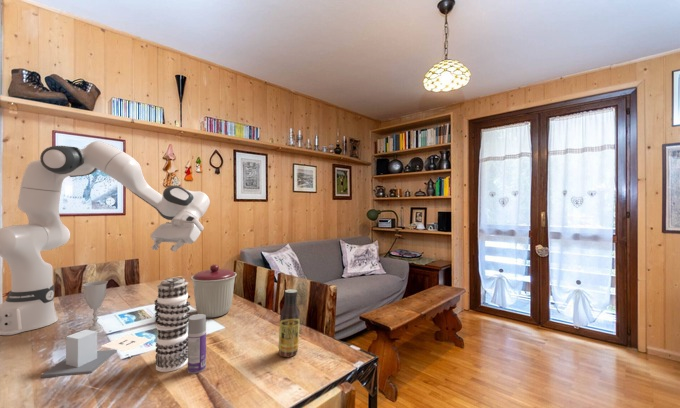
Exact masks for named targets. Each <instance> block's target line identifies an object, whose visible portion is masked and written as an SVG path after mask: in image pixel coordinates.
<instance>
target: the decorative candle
mask: <svg viewBox="0 0 680 408" xmlns="http://www.w3.org/2000/svg"><path fill="white" fill-rule="evenodd" d="M188 285H189V281H186V279H185V278H184V277H178V276H177V277H170V278H169V277H168V278H165V279H163V280H161V282H160V283H159V284H158V285H156V288H157V298H156V299H155V300H154V310H155V313H154V316H155V317H154V318H155V320H154V322H155V323H156V324H155V328H156V329H157V337H156V343H155V347H156V348H155V353H156V354H155V362H154V363H155V370H156V371H157V372H161V373H167V372H168V373H169V372H174V371H177V370H179V369H181V368H183V367H185V366H186V365H188V322H189V317H190V314H189V313H188V312H189V311H190V310H191V308H190V307H189V306H190V305H191V303H190V301H187V300H189V299H190V298H191V295H189V293H188V292H189V291H188Z"/></svg>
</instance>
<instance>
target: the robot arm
mask: <svg viewBox="0 0 680 408" xmlns="http://www.w3.org/2000/svg"><path fill="white" fill-rule="evenodd" d="M141 166H142V165H141V164H140V163H139V162H138V161H137V160H136V159H135V158H134V157H133V156H131V155H130V154H128V153H126V152H124V151H123V150H122V149H120V148H118V147H115V146H113V145H112V144H109V143H106V142H104V141H101V140H100V141H99V140H97V141H93V142H90V143H89V144H87V145H86V147H84V148H82V149H81V148H79V147H77V146H68V145H53V146H49V147H47V148H44V149H43V150H42V152H41V154H40V157H39V160H32V161H31V162H29V163H28V164H27V167H26V169H25V170H24V173H23V176H22V179H21V183H20V188H19V194H18V201H17V208H18V209H19V210H20V211H21V212H22V213H25V214H26V216H27V219H28V222H27V223H28V224H14V225H9V226H4V227H2V228H0V257H1V258H2V259H3V260H4V261H5V262H6V263H7V265H8V268H9V270H10V271H9V272H10V278H11V279H10V280H11V284H10V285H11V289H10V290H9V291H8V292H5V293H2V298H4V297H6V298H5V301H3V302H2V303H1V304H0V336H13V335H16V334H20V333H23V332H27V331H33V330H36V329H40V328H44V327H47V326H49V325H52V324H54V323H56V322H57V321H58V320H59V318H58V316H57V311H56V307H55V303H54V297H55V285H54V283H53V282H54V267H53V266H52V264H51V263H49V262H46V261H45V260H44V259H43V258H42V255H41V254H42V253H41V252H44V251H50V250H54V249H57V248H59V247H62V246H65V245H66V244H67V243H68V242H69V240H70V238H71V231H70V230H69V228H68V226H66V225H64V223H63V222H62V219H61V217H60V200H61V193H62V187H63V183H64V180H65V179H66V178H67V177H69V178H75V177H85V176H89V175H92V174H94V173H96V172H97V171H98V170H99V171H101V172H102V173H103V174H105V175H107V176H109V177H111V178H112V179H113V180H115V181H117V182H118V183H120V184H121V185H123V186H124V187H125V188H126V189H127V190H128V191H130V192H131V193H132V194H134V195H135V196H136V197H138V198H139V199H141V200H142V201H143V202H145V203H147V204H148V205H149V206H151V207H152V208H154V210H156V211H157V213H158V214H159V215H160V217H162V218H163V219H165V220H167V222H165V223H161V224H160V225H159V226H157V227H156V229H155V230H153V232H152V233H151V234H150V239H152V240H153V245H152V246H151V249H152V250H153V251H157V250H159V248H160V244H162V243H175V244H173V245H171V247H170V251H171V252H177V251H178V249H180V248H181V247H183V246H184V245H185V244H190V245H191V244H193V243H195V242H196V241H197V240H198V238H199V236H200V235H201V233H202V232H203V231H204V229H205V228H204V225H203V224H202V223H201V222H200V219H201V218H202V217H203V216H204V215H205V213H207V210H208V209H209V207H210V203H211V200H210V197H209V196H208V195H207V194H206V193H205V192H203V191H200V190H195V191H194V190H189V189H186V188H184V187H182V186H179V185H170V186H168V187H166V188H165V189H164V190H163V192H162V193H159V191H157V190H155V189H154V188H152V187H151V186H150V184H149V183H148V182H147V181H146V179H145V177H144V174H143V170H142V167H141ZM169 221H171V222H169Z"/></svg>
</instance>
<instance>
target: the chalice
mask: <svg viewBox="0 0 680 408" xmlns="http://www.w3.org/2000/svg"><path fill="white" fill-rule="evenodd" d="M108 282H109V281H108V280H95V281H89V282H86V283H83V284H82V286H83V289H84V300H85V303H86V304H87V305H88V307H89V309H90V310H93V313H92V316H93V318H92V319H91V320H92V321H93V324H92V325H90V326H89V328H88V330H91V331H96V332H97V334H99V333H103V332H104V328H103V327H102V325H101V324H99V323H98V320H99V317H98V314H99V313H98V309H100V308H101V306H102V304H103V303H104V301H105V299H106V297H107V284H108Z"/></svg>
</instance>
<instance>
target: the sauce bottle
mask: <svg viewBox="0 0 680 408" xmlns="http://www.w3.org/2000/svg"><path fill="white" fill-rule="evenodd" d="M283 295H284V305H283V307H282V308H281V310H280V319H279V326H278V327H279V328H278V329H279V330H278V332H279V333H278V354H279V356H281V357H283V358H291V357H293V356H296V355H297V353H298V350H299V341H300V340H299V339H300V308H299V307H298V305H297V301H298V300H297V296H298V290H297V289H291V288H290V289H285V290H284V294H283Z"/></svg>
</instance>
